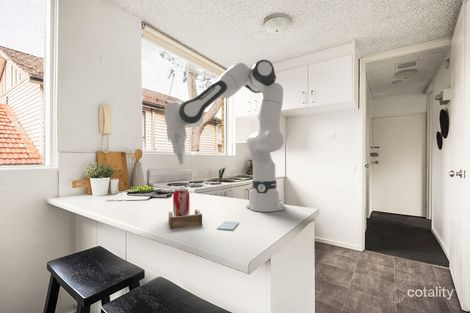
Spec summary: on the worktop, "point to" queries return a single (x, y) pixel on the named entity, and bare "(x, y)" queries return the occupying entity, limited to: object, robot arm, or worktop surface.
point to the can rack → (185, 220)
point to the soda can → (181, 202)
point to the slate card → (228, 225)
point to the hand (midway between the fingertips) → (181, 164)
